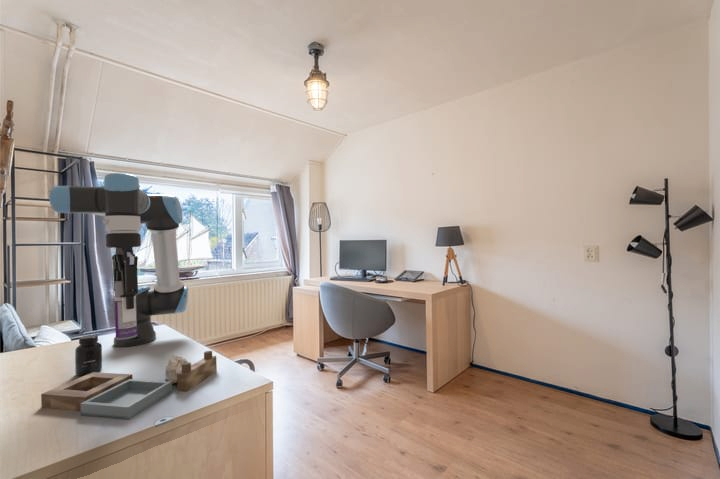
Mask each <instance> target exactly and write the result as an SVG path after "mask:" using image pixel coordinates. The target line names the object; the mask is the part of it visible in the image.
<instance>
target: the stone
mask: <svg viewBox="0 0 720 479" xmlns="http://www.w3.org/2000/svg"><path fill="white" fill-rule="evenodd" d="M183 363H188V360H187V359H186V358H183V357H181V356H178V355H171V356H170V357H169V359H168V362H167V365H166V366H165V380H167V381H168V382H172V384H177V373H179V372H180V371H182V364H183Z"/></svg>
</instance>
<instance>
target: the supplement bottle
mask: <svg viewBox="0 0 720 479" xmlns="http://www.w3.org/2000/svg"><path fill="white" fill-rule="evenodd" d="M98 338H99V337H98V334H89V335H88V334H87V335H84V336H80V337H79V338H78V344H79V345H77V346H76V347H75V350H74V353H75V355H74V356H75V358H74V363H75V364H74V365H75V370H74V371H75V375H76V376H77V377H83V376H85V375H88V374H90V373H92V372H101V371H102V368H103V355H102V354H103V352H102V351H103V350H102V344H101V342H98V341H99V339H98Z"/></svg>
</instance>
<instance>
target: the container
mask: <svg viewBox="0 0 720 479" xmlns="http://www.w3.org/2000/svg"><path fill="white" fill-rule="evenodd" d="M120 295H123V285H122V281H116V282H115V292H114V320H115V322H114V323H115V327H114V328H115V336H116V339H117V340H124V339H130V338H134V337H136V336H137V308H136V320H135V321H129V322H123V312H122V298H120ZM135 306H136V296H135Z"/></svg>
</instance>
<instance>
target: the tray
mask: <svg viewBox="0 0 720 479" xmlns="http://www.w3.org/2000/svg"><path fill="white" fill-rule="evenodd" d="M172 384H173V383H172V382H169V381H168V380H167V381H165V380H151V379H148V380H147V379H129V380H127V381H125V382H123V383H121V384H119V385H117V386H115V387H113V388H111V389H109V390H107V391H105V392H103V393H101V394H99V395H97V396H95V397H93V398H91V399H89V400H87V401H85V402H83V403H81V404H80V405H81V410H80V416H83V417H93V418H94V417H95V418H105V419H117V420H118V419H119V420H130V419H132V418H134V417H135V416H137V415H138V414H140V413H142V412H143V411H144V410H146V409H147V408H149V407H151V406H152V405H154V404H155V403H157V402H158V401H160V400H162V399H163V398H165V397H166V396H168V395H170V394H171V393H173V392H172V391H173V389H172V388H173V387H172V386H173V385H172Z"/></svg>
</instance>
